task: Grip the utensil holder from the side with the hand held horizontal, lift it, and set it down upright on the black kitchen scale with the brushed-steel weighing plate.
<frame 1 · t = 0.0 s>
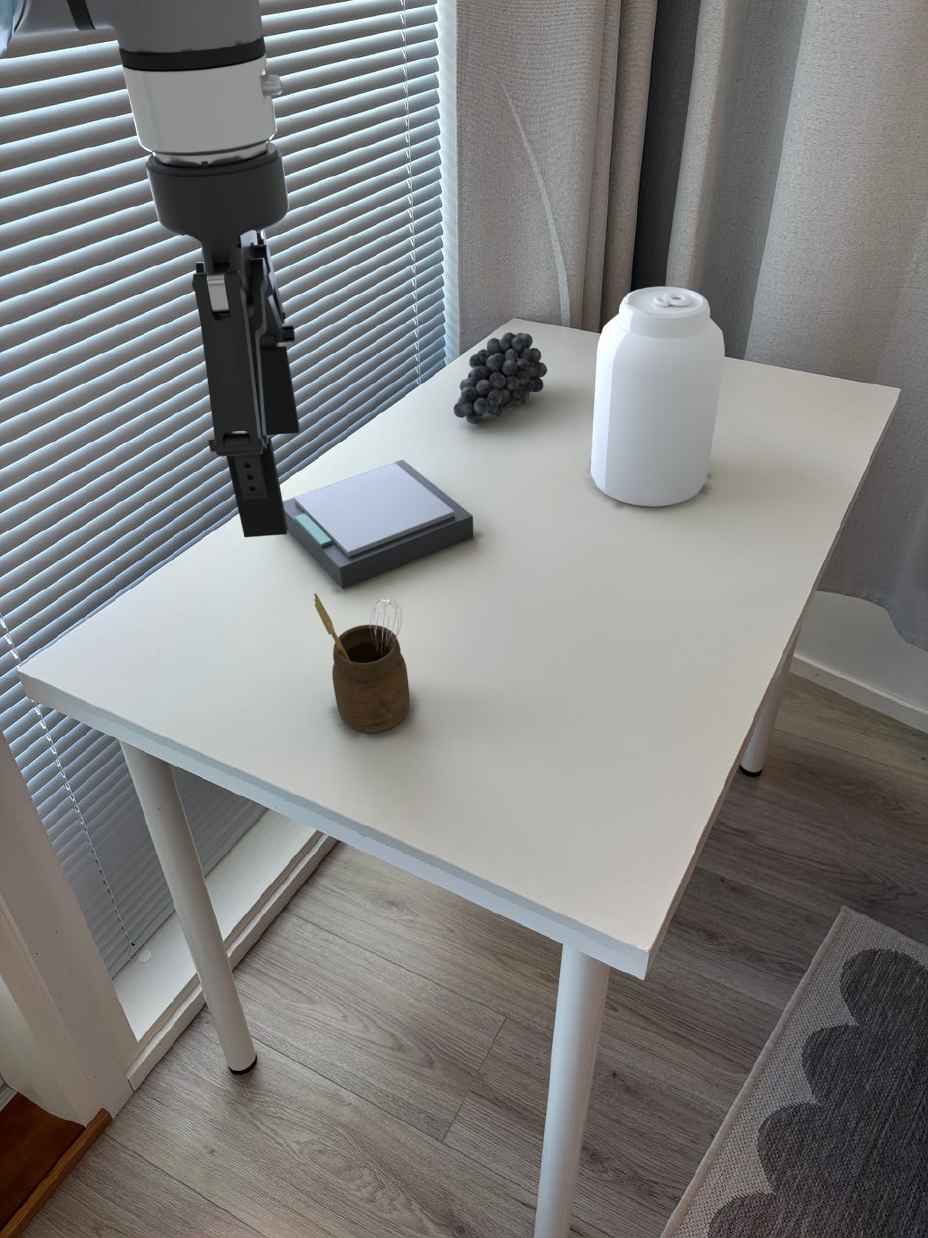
hand: (274, 478, 66), 21 cm above the table, tool pointing down, fingers open, 13 cm apart
utensil holder: (373, 711, 78), on the table
can: (647, 480, 104), on the table
fruit: (493, 410, 118), on the table
scale: (375, 529, 98), on the table
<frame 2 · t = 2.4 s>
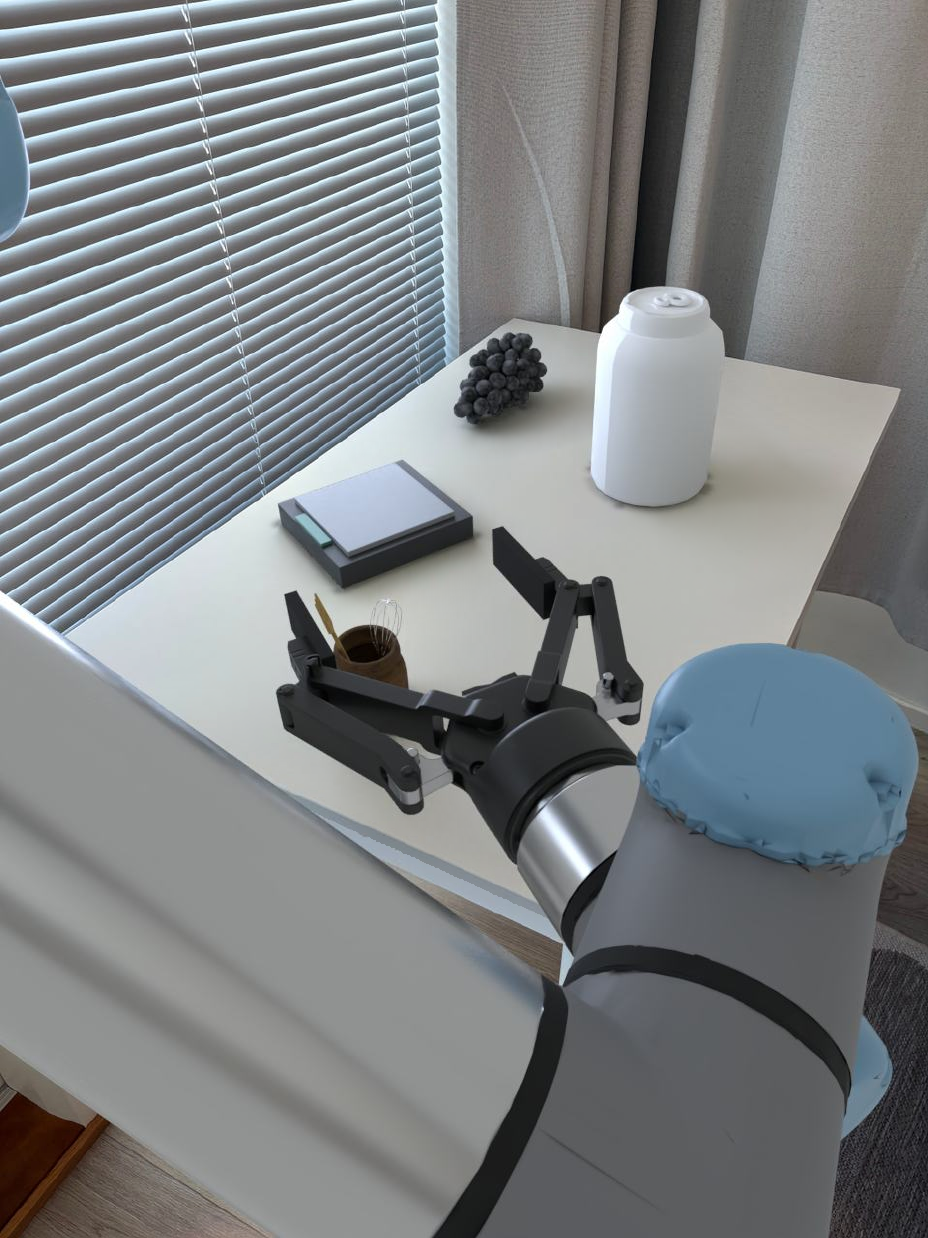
hand: (399, 576, 58), 20 cm above the table, tool horizontal, fingers open, 13 cm apart
nothing on the table moved.
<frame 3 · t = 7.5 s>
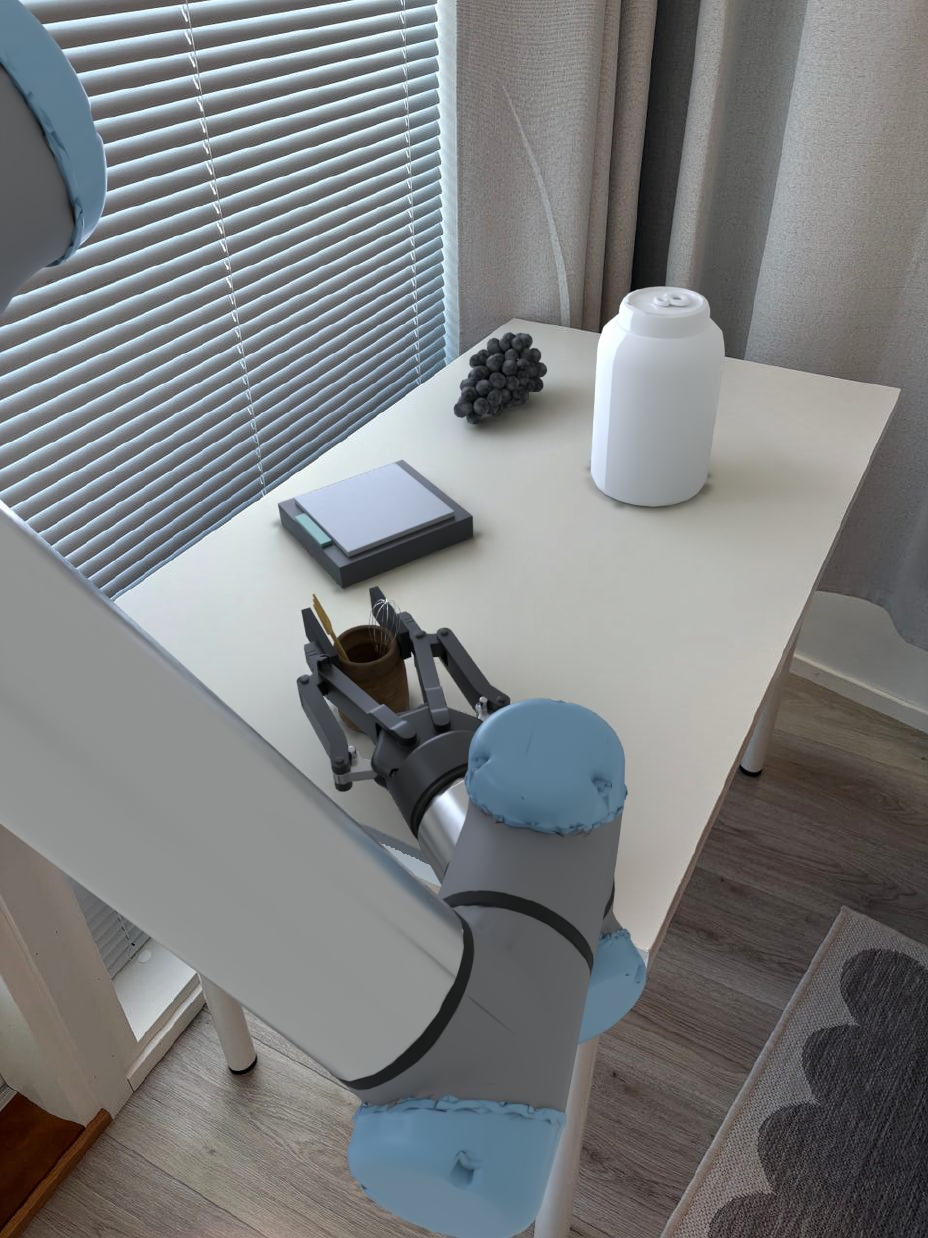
hand: (341, 611, 77), 7 cm above the table, tool horizontal, fingers closed on utensil holder, 5 cm apart
utensil holder: (373, 711, 78), on the table, touching gripper
everything else where it was.
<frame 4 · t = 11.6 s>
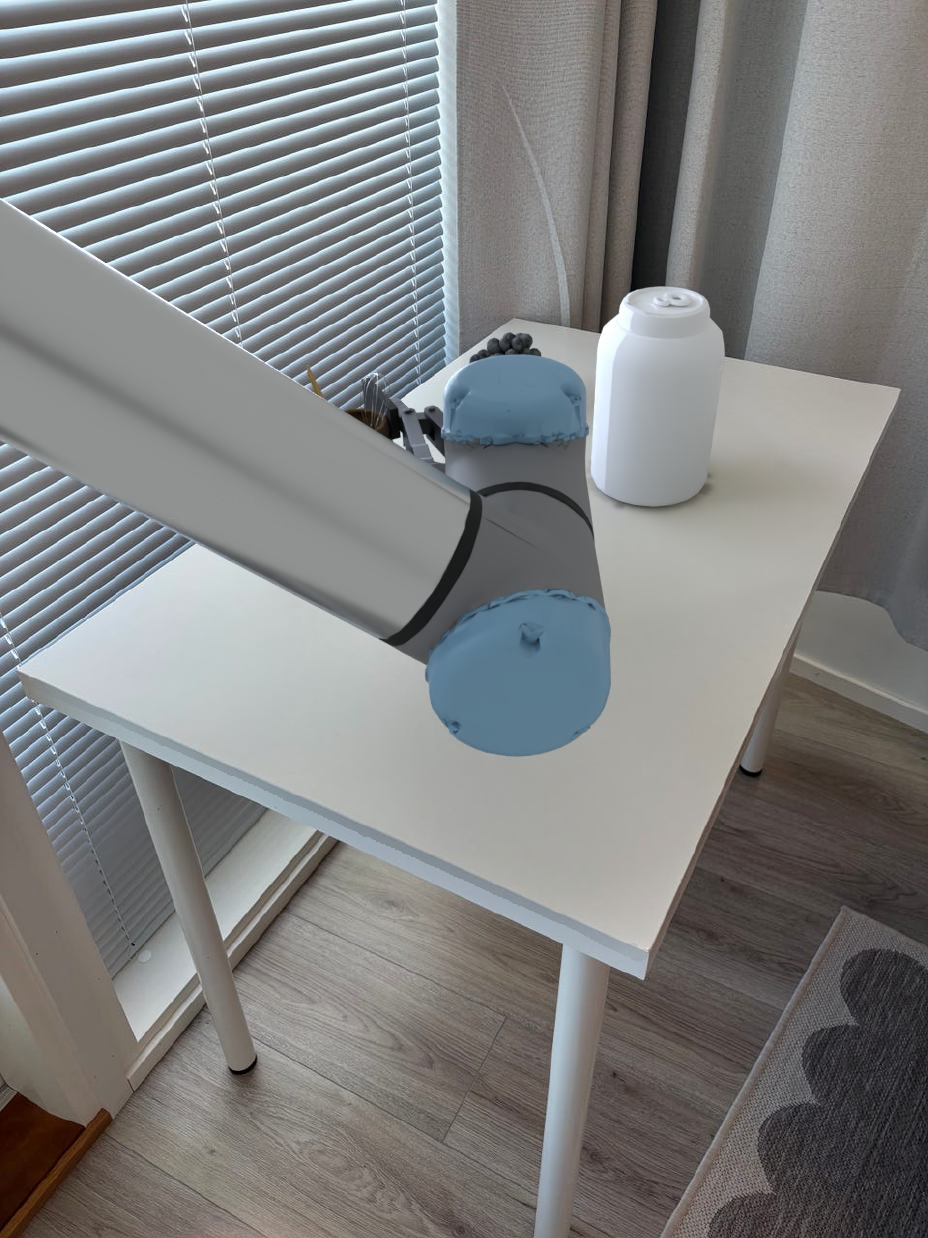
hand: (335, 400, 81), 18 cm above the table, tool horizontal, fingers closed on utensil holder, 5 cm apart
utensil holder: (364, 497, 82), point 11 cm above the table, touching gripper
everything else where it was.
when the fingers open (10 cm above the table, at t = 15.7 s): utensil holder stays where it is, resting on scale.
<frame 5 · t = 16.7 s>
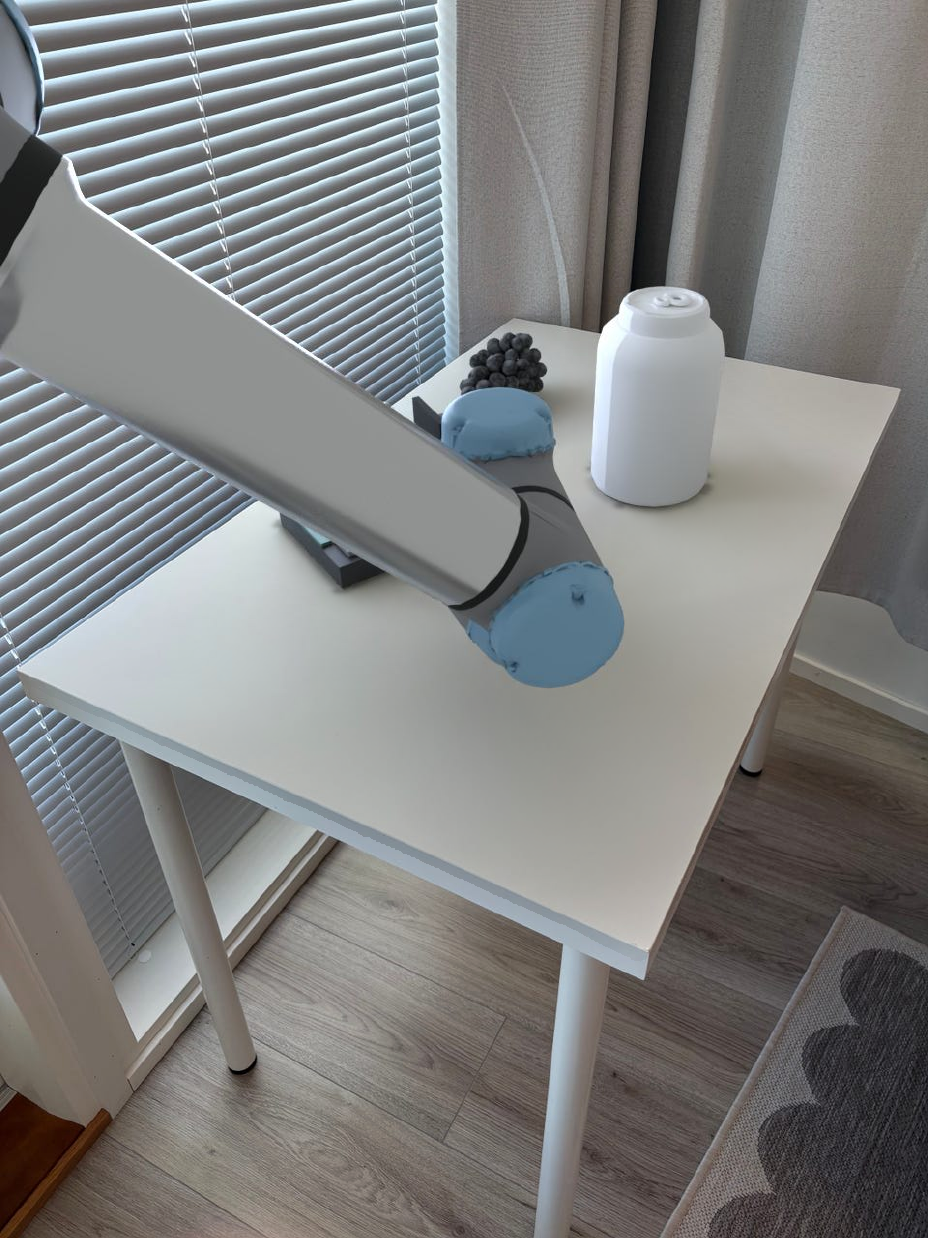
hand: (353, 424, 94), 11 cm above the table, tool horizontal, fingers open, 13 cm apart
utensil holder: (372, 505, 96), point 3 cm above the table, touching scale
everything else where it was.
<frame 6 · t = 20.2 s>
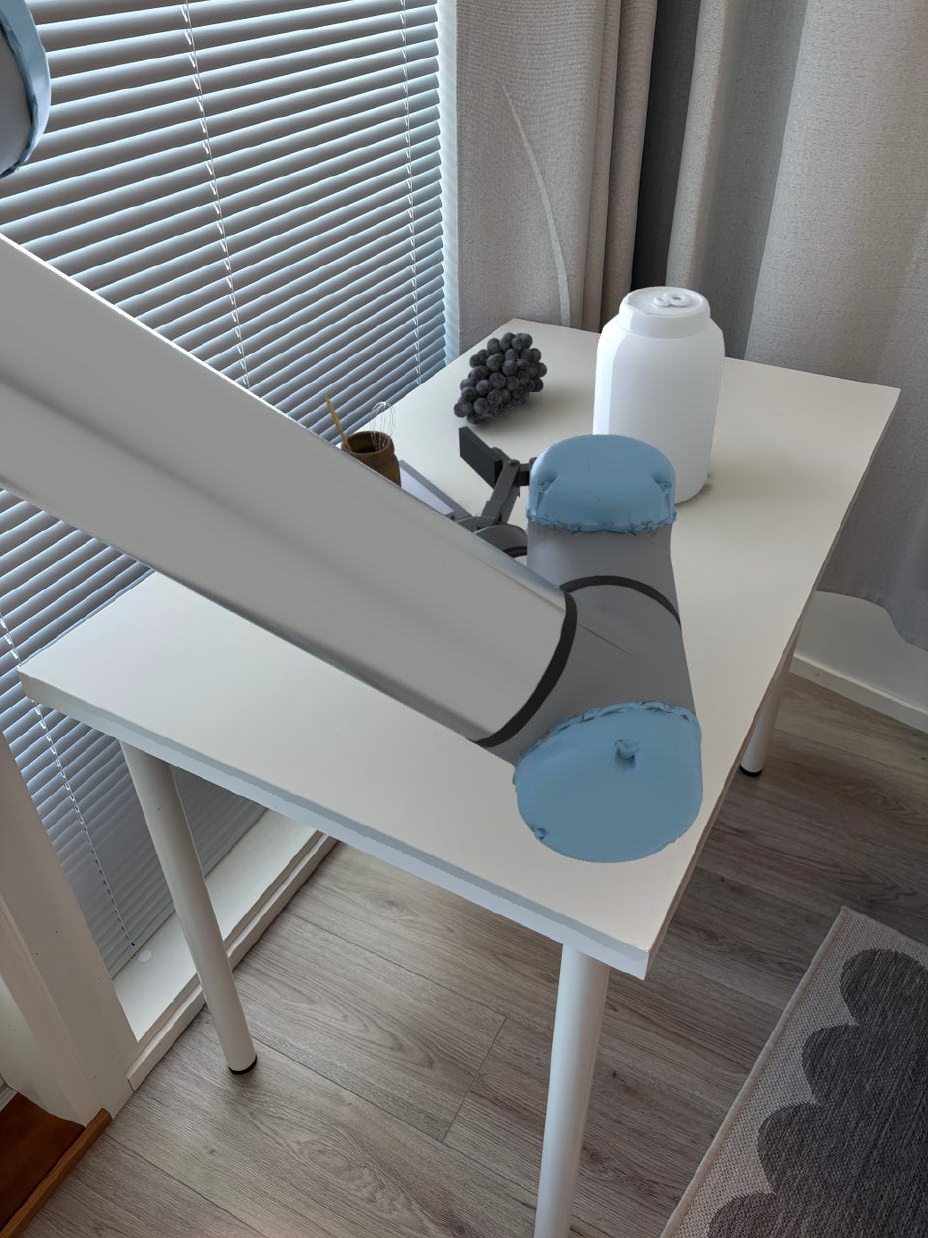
hand: (389, 460, 79), 15 cm above the table, tool horizontal, fingers open, 13 cm apart
nothing on the table moved.
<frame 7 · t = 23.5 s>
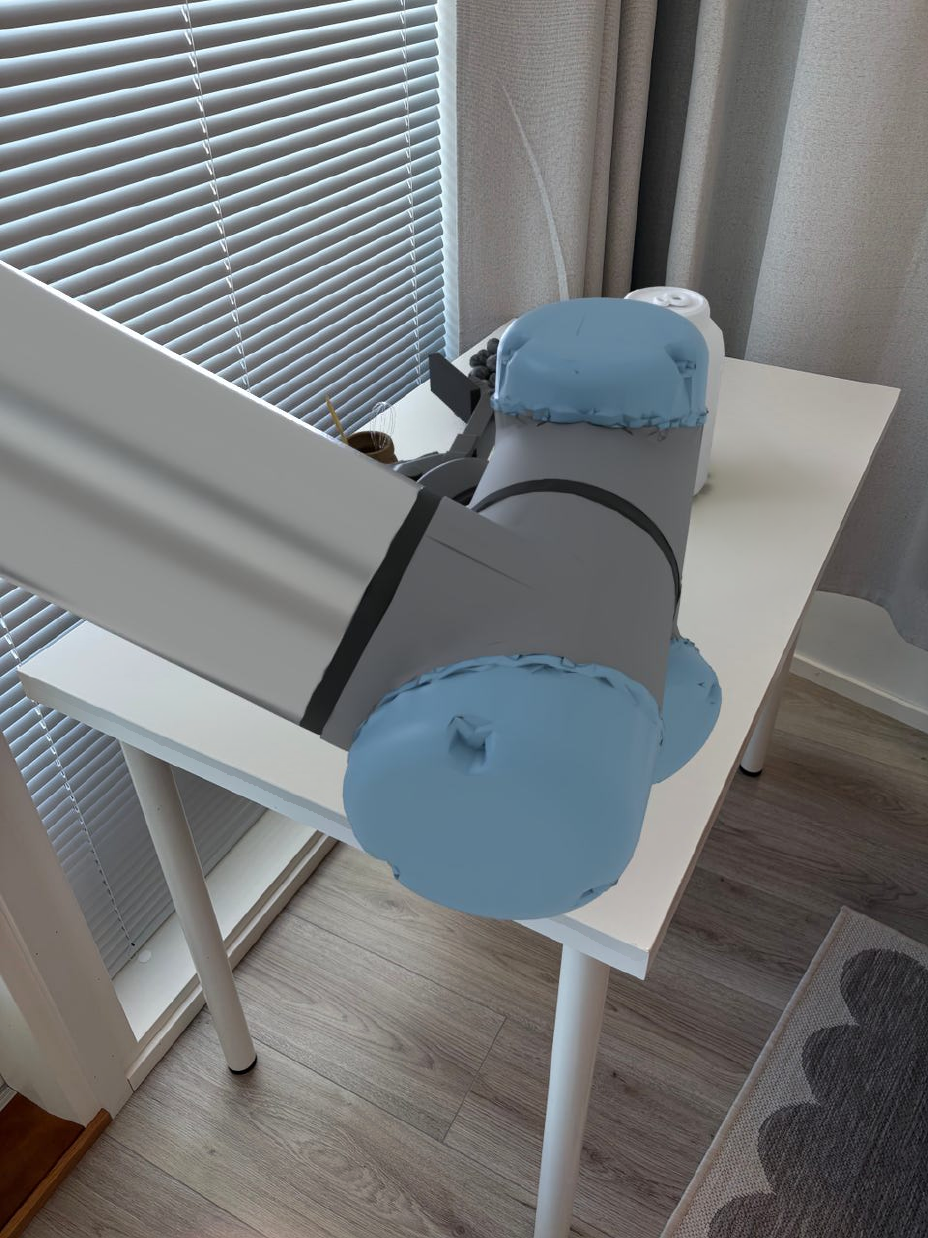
hand: (343, 393, 64), 26 cm above the table, tool horizontal, fingers open, 13 cm apart
nothing on the table moved.
at the end: utensil holder inside the target area on the scale (0.1 cm from its centre), point 2.9 cm above the scale's base; utensil holder tilted 0°; the gripper is holding nothing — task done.
